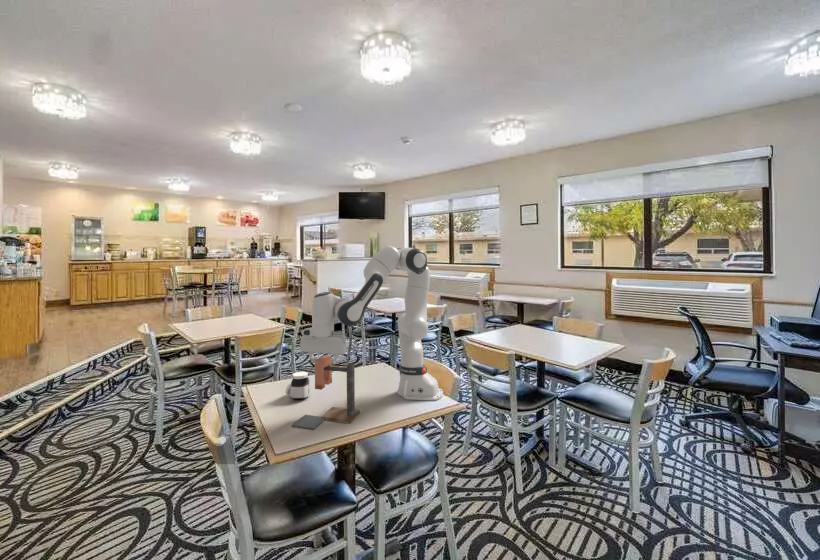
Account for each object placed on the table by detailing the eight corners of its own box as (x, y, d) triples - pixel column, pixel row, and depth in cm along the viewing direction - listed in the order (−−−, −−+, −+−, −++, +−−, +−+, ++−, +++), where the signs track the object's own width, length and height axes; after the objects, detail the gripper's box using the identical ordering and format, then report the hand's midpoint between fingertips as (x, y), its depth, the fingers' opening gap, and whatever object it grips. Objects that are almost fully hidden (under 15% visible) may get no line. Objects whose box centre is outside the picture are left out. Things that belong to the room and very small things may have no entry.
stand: (360, 413, 154) (359, 361, 153) (350, 423, 145) (349, 368, 143) (324, 408, 159) (323, 358, 158) (312, 418, 149) (311, 365, 148)
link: (331, 382, 157) (331, 355, 156) (321, 389, 148) (321, 361, 147) (325, 381, 157) (325, 354, 157) (314, 388, 149) (314, 360, 148)
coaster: (326, 418, 149) (326, 417, 149) (313, 429, 139) (313, 428, 139) (305, 415, 151) (305, 414, 151) (291, 426, 142) (291, 425, 142)
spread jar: (305, 402, 166) (305, 377, 165) (280, 402, 166) (280, 377, 165) (312, 392, 178) (312, 369, 177) (289, 392, 178) (289, 369, 177)
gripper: (349, 330, 151) (349, 363, 152) (306, 328, 157) (306, 359, 158) (342, 333, 145) (342, 367, 146) (297, 330, 151) (298, 363, 152)
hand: (323, 363), depth 152 cm, fingers open, 8 cm apart
